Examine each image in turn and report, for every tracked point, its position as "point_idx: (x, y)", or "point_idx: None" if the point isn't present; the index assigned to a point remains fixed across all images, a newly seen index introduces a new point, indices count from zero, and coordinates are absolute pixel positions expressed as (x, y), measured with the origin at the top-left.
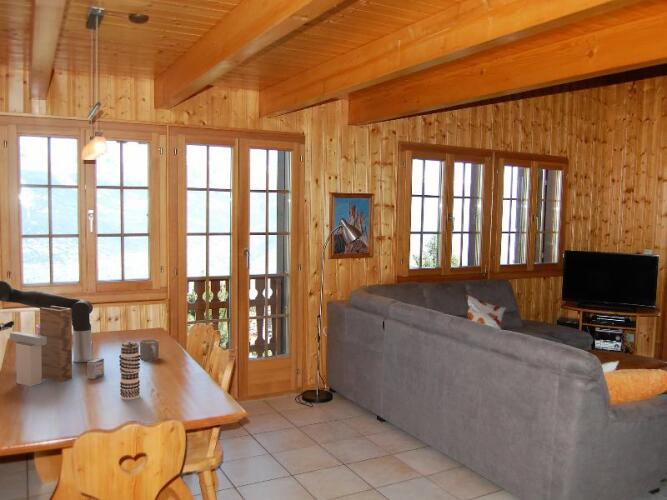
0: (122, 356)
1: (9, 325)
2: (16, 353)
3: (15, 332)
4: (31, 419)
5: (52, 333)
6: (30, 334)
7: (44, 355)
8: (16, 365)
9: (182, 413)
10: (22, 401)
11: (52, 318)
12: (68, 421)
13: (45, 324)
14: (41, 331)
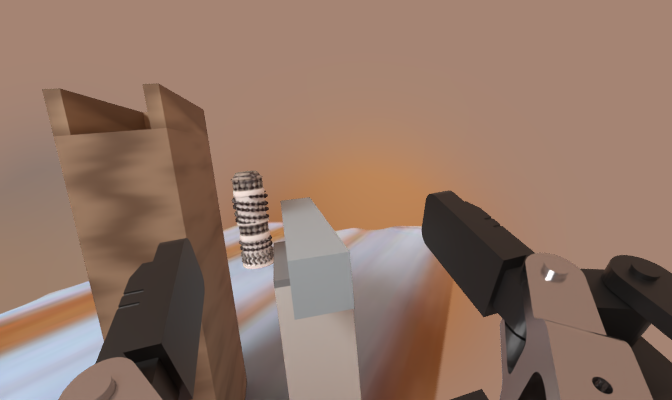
0: (263, 192)
1: (191, 344)
2: (354, 329)
3: (314, 248)
4: (418, 255)
5: (211, 220)
6: (291, 217)
7: (219, 358)
8: (360, 392)
9: (276, 229)
10: (410, 306)
11: (199, 148)
12: (378, 242)
13: (192, 189)
14: (191, 241)
